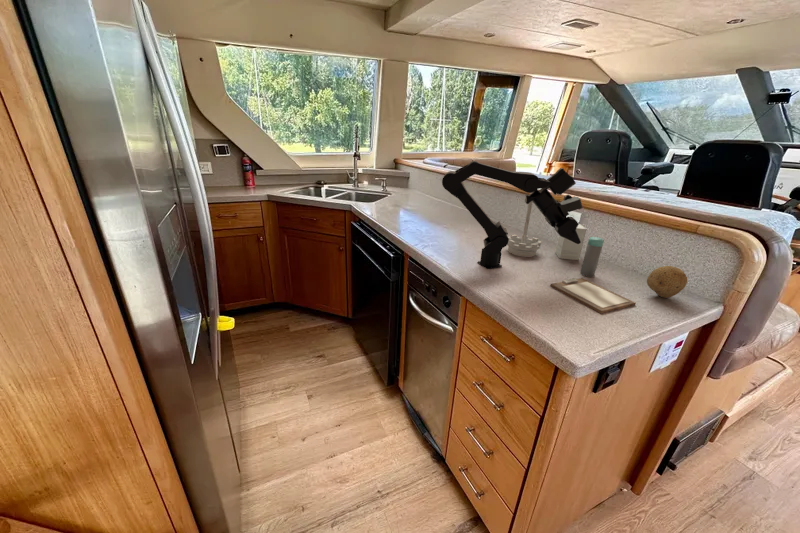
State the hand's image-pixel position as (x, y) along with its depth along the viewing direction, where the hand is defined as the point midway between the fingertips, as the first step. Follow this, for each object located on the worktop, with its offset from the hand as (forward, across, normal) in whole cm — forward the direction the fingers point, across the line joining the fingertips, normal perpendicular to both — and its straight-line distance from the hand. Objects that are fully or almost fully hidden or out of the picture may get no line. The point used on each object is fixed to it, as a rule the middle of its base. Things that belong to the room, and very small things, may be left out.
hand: (575, 239), depth 110 cm
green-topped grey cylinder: (+13, 0, +4) cm, 14 cm away
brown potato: (+25, -13, -8) cm, 30 cm away
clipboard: (+10, -17, +7) cm, 21 cm away
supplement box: (+12, +18, +6) cm, 22 cm away
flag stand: (0, +19, +18) cm, 26 cm away
